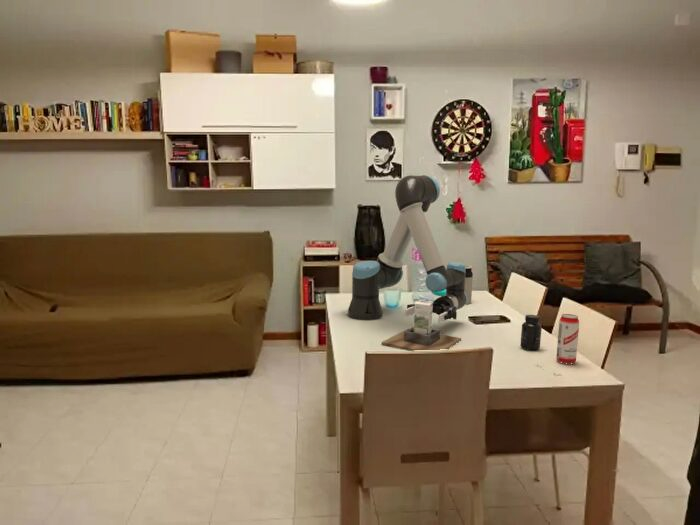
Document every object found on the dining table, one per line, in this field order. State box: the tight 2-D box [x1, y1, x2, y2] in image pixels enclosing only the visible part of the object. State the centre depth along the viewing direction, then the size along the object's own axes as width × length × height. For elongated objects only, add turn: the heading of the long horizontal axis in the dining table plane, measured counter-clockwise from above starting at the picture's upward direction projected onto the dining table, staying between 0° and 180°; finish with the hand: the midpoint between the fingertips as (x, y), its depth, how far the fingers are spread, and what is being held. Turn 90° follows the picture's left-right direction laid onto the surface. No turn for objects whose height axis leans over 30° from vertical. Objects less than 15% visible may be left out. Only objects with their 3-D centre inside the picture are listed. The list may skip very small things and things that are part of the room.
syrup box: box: [413, 299, 433, 335], centre depth 205 cm, size 6×6×14 cm
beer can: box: [555, 313, 580, 365], centre depth 187 cm, size 6×6×16 cm
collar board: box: [381, 326, 462, 351], centre depth 206 cm, size 22×22×4 cm
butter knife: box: [534, 364, 563, 377], centre depth 185 cm, size 1×24×3 cm
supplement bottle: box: [520, 314, 542, 352], centre depth 201 cm, size 7×7×12 cm
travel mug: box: [465, 264, 474, 305], centre depth 269 cm, size 8×8×18 cm
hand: (422, 316), depth 204 cm, fingers open, 13 cm apart
